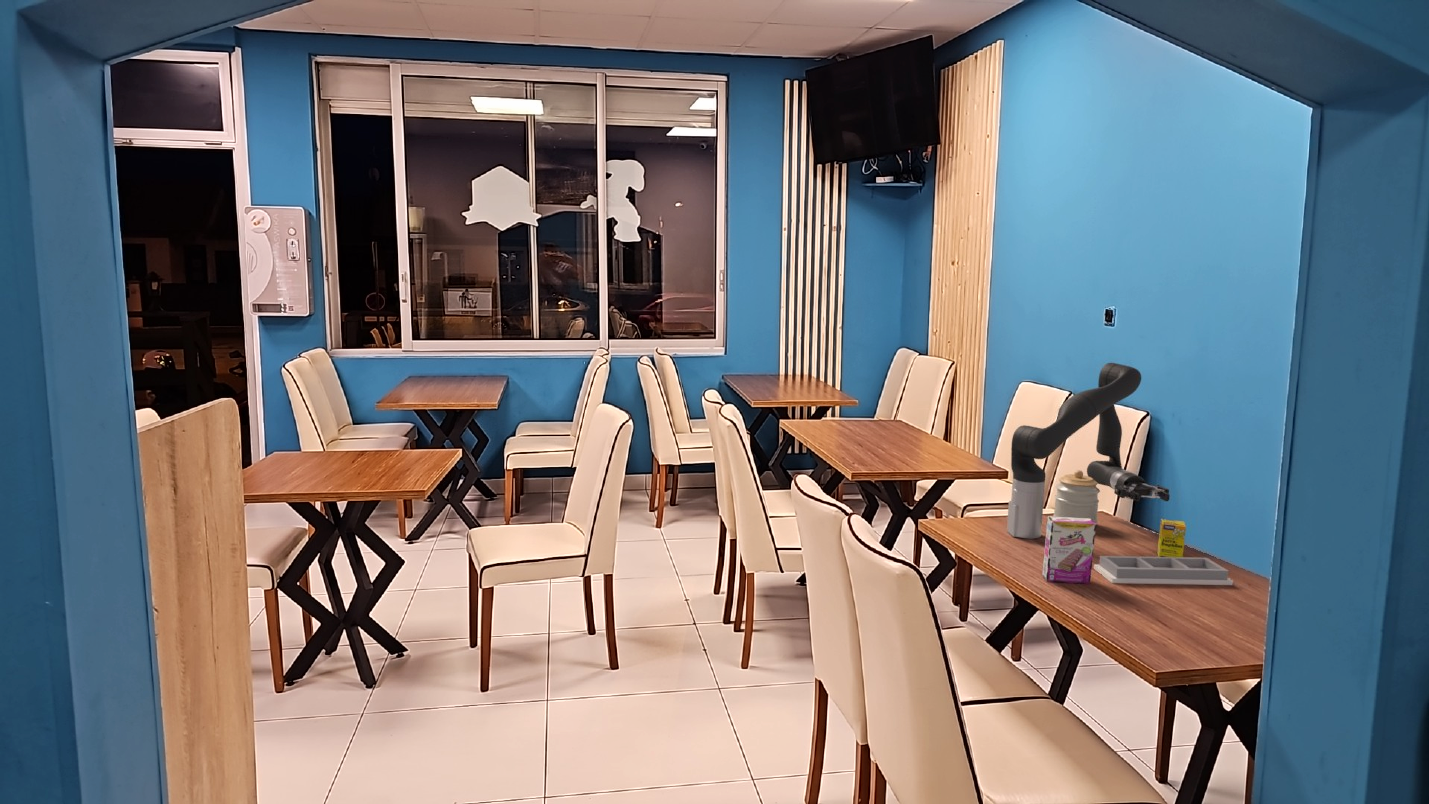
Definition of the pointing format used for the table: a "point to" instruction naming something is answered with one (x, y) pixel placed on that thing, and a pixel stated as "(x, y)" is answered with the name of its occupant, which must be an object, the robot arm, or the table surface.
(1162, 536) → the supplement box
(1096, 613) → the table surface
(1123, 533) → the table surface
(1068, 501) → the jar
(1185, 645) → the table surface
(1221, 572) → the rack
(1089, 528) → the candy bar box
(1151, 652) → the table surface
